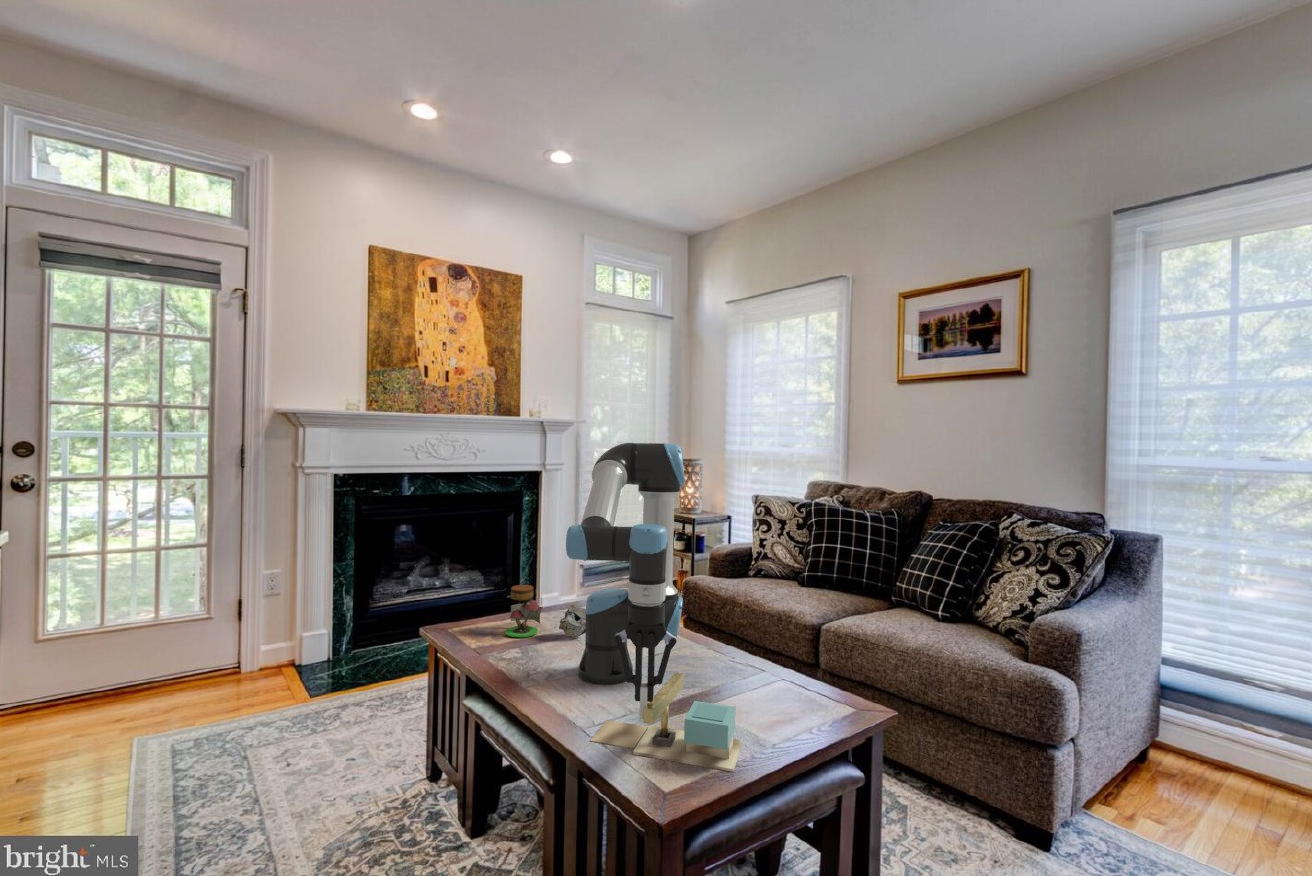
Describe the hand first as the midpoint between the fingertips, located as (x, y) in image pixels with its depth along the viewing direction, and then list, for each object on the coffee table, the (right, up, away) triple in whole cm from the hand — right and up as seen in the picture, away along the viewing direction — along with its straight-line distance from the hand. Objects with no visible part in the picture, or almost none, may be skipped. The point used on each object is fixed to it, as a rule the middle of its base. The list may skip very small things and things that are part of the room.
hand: (643, 716), depth 124 cm
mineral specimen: (-24, -8, +74) cm, 78 cm away
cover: (+14, -6, +4) cm, 15 cm away
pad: (-6, -9, +11) cm, 15 cm away
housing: (+10, -9, +5) cm, 14 cm away
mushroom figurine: (-42, -8, +78) cm, 89 cm away
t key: (+4, -9, +7) cm, 12 cm away
